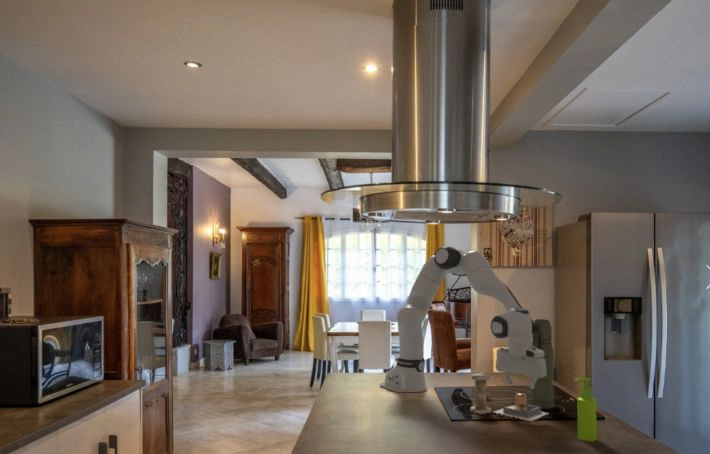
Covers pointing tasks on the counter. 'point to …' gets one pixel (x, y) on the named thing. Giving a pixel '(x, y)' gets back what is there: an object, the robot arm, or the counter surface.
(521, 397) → the copper plug
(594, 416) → the soap dispenser
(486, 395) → the push button
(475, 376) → the wooden spool
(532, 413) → the terminal board
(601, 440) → the counter surface
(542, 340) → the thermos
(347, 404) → the counter surface
